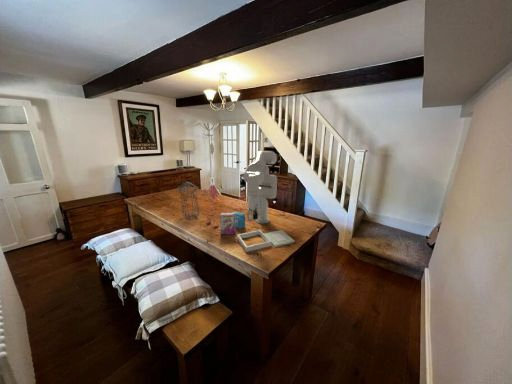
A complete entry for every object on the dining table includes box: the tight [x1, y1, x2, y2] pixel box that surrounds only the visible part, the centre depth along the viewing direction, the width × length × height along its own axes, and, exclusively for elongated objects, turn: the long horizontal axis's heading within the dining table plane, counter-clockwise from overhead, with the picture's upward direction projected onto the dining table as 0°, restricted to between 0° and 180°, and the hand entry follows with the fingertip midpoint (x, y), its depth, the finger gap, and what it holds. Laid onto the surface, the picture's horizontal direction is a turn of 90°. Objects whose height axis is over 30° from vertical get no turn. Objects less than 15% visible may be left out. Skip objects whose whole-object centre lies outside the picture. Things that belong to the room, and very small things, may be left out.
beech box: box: [246, 207, 260, 223], centre depth 136 cm, size 5×8×8 cm, turn 114°
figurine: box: [203, 184, 222, 228], centre depth 168 cm, size 15×26×35 cm, turn 45°
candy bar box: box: [219, 212, 236, 235], centre depth 153 cm, size 11×5×16 cm, turn 92°
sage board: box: [263, 229, 295, 248], centre depth 147 cm, size 18×16×2 cm
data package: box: [232, 211, 246, 229], centre depth 165 cm, size 12×4×12 cm, turn 57°
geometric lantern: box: [176, 181, 200, 221], centre depth 180 cm, size 16×16×35 cm
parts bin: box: [236, 229, 272, 253], centre depth 142 cm, size 19×19×4 cm
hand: (253, 217), depth 137 cm, fingers closed on beech box, 5 cm apart
